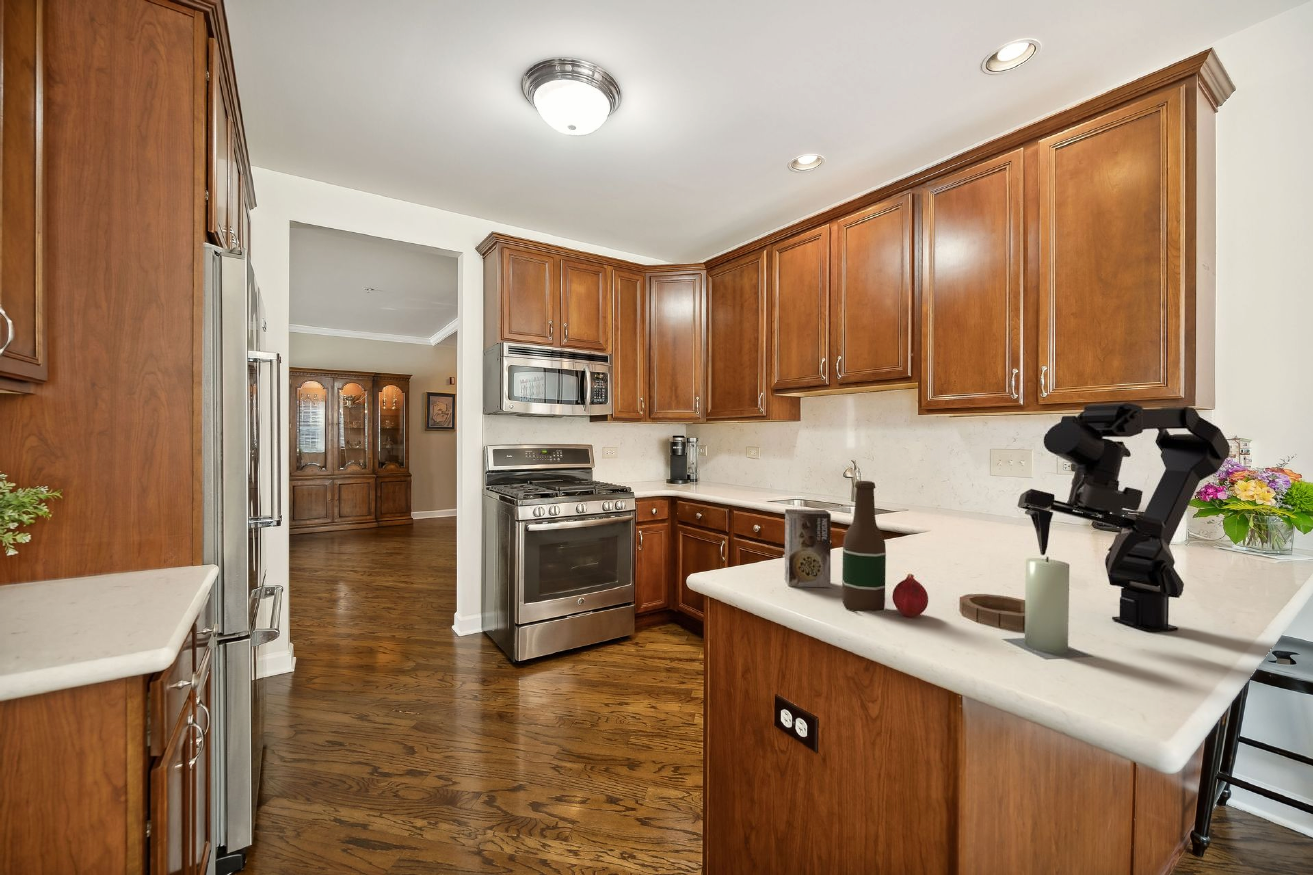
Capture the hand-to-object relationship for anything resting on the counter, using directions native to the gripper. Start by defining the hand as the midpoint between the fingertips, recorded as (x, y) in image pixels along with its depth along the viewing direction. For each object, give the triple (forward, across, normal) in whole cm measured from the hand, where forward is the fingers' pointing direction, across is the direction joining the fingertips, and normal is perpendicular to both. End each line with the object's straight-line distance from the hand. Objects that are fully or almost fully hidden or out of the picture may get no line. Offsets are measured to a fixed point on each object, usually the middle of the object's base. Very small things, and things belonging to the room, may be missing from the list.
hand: (1075, 564), depth 90 cm
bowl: (+13, -7, +7) cm, 16 cm away
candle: (+14, -3, -7) cm, 16 cm away
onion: (+18, -21, +1) cm, 28 cm away
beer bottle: (+19, -29, +4) cm, 35 cm away
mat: (+15, -3, -7) cm, 17 cm away
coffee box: (+19, -41, +18) cm, 49 cm away
